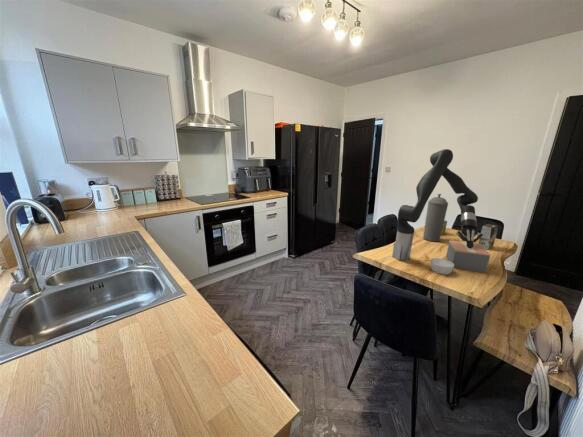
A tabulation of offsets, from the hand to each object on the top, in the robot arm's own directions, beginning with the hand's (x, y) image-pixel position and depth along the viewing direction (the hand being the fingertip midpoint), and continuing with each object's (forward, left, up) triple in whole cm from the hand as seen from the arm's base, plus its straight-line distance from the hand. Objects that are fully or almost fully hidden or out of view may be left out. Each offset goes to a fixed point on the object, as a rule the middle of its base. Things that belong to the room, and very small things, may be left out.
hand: (470, 247), depth 135 cm
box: (+2, +2, -12) cm, 12 cm away
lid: (+2, +2, -1) cm, 3 cm away
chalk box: (+34, +50, -12) cm, 62 cm away
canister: (+18, +40, -12) cm, 45 cm away
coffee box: (+42, +17, -12) cm, 47 cm away
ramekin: (-19, 0, -12) cm, 23 cm away
